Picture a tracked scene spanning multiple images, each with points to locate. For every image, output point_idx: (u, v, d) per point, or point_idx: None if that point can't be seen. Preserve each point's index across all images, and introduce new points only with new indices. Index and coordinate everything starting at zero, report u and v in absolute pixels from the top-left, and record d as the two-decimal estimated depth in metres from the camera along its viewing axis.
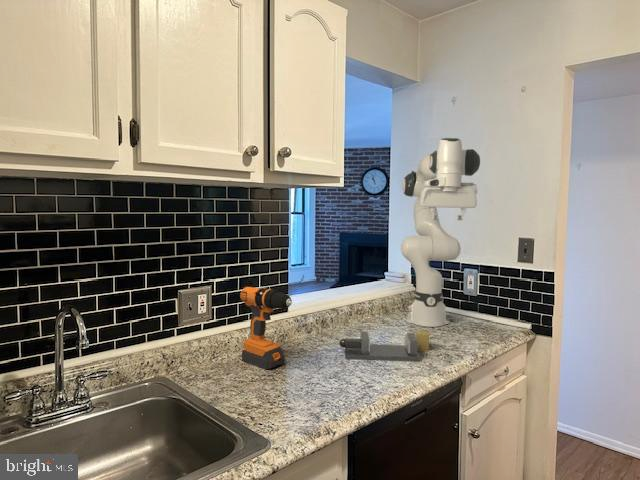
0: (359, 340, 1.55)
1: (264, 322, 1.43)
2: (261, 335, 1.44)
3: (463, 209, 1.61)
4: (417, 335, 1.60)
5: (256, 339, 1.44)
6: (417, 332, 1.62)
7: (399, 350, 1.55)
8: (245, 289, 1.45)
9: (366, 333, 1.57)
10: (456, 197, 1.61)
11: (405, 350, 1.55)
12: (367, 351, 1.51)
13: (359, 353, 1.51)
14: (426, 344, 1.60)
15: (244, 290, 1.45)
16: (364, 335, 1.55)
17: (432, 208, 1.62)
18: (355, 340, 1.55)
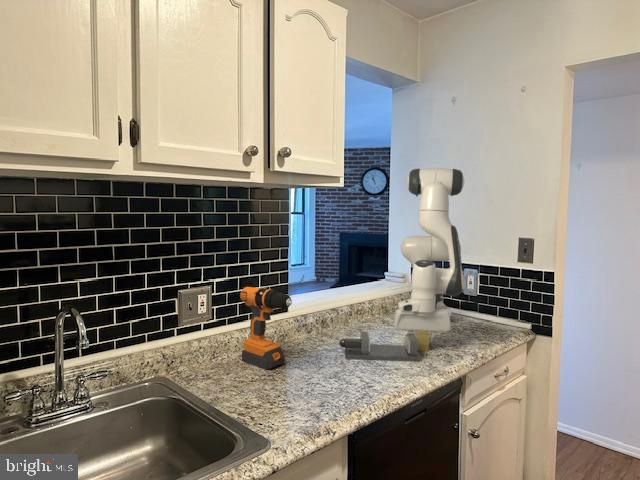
0: (359, 340, 1.55)
1: (264, 322, 1.43)
2: (261, 335, 1.44)
3: (432, 332, 1.61)
4: (417, 335, 1.60)
5: (256, 339, 1.44)
6: (417, 332, 1.62)
7: (399, 350, 1.55)
8: (245, 289, 1.45)
9: (366, 333, 1.57)
10: (430, 321, 1.59)
11: (405, 350, 1.55)
12: (367, 351, 1.51)
13: (359, 353, 1.51)
14: (426, 344, 1.60)
15: (244, 290, 1.45)
16: (364, 335, 1.55)
17: (411, 331, 1.61)
18: (355, 340, 1.55)
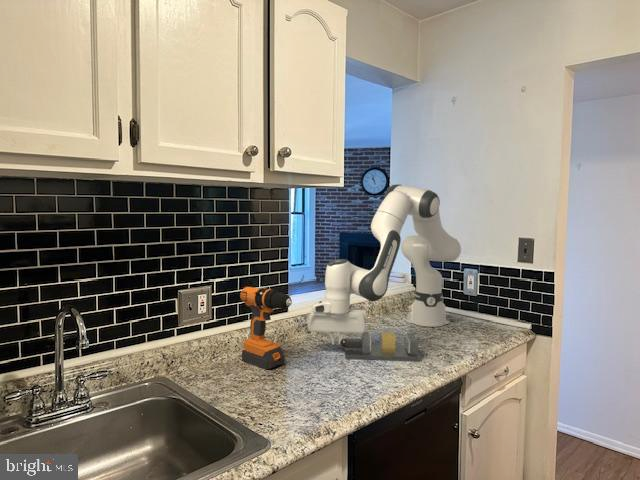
0: (360, 340, 1.55)
1: (264, 322, 1.43)
2: (261, 335, 1.44)
3: (340, 334, 1.55)
4: (383, 336, 1.52)
5: (256, 339, 1.44)
6: (384, 333, 1.54)
7: (399, 350, 1.55)
8: (245, 289, 1.45)
9: (367, 333, 1.57)
10: (344, 323, 1.53)
11: (405, 350, 1.55)
12: (368, 351, 1.51)
13: (359, 353, 1.51)
14: (393, 345, 1.52)
15: (244, 290, 1.45)
16: (365, 335, 1.54)
17: (331, 333, 1.55)
18: (356, 340, 1.55)
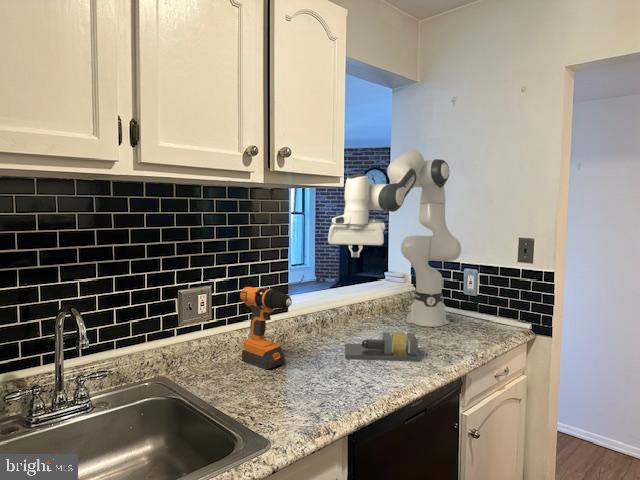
0: (382, 341, 1.54)
1: (264, 322, 1.43)
2: (261, 335, 1.44)
3: (359, 246, 1.59)
4: (393, 336, 1.52)
5: (256, 339, 1.44)
6: (394, 333, 1.54)
7: None
8: (245, 289, 1.45)
9: (388, 334, 1.57)
10: (363, 235, 1.58)
11: None
12: (390, 352, 1.50)
13: (359, 353, 1.51)
14: (403, 346, 1.52)
15: (244, 290, 1.45)
16: (387, 336, 1.54)
17: (350, 245, 1.60)
18: (378, 341, 1.54)
